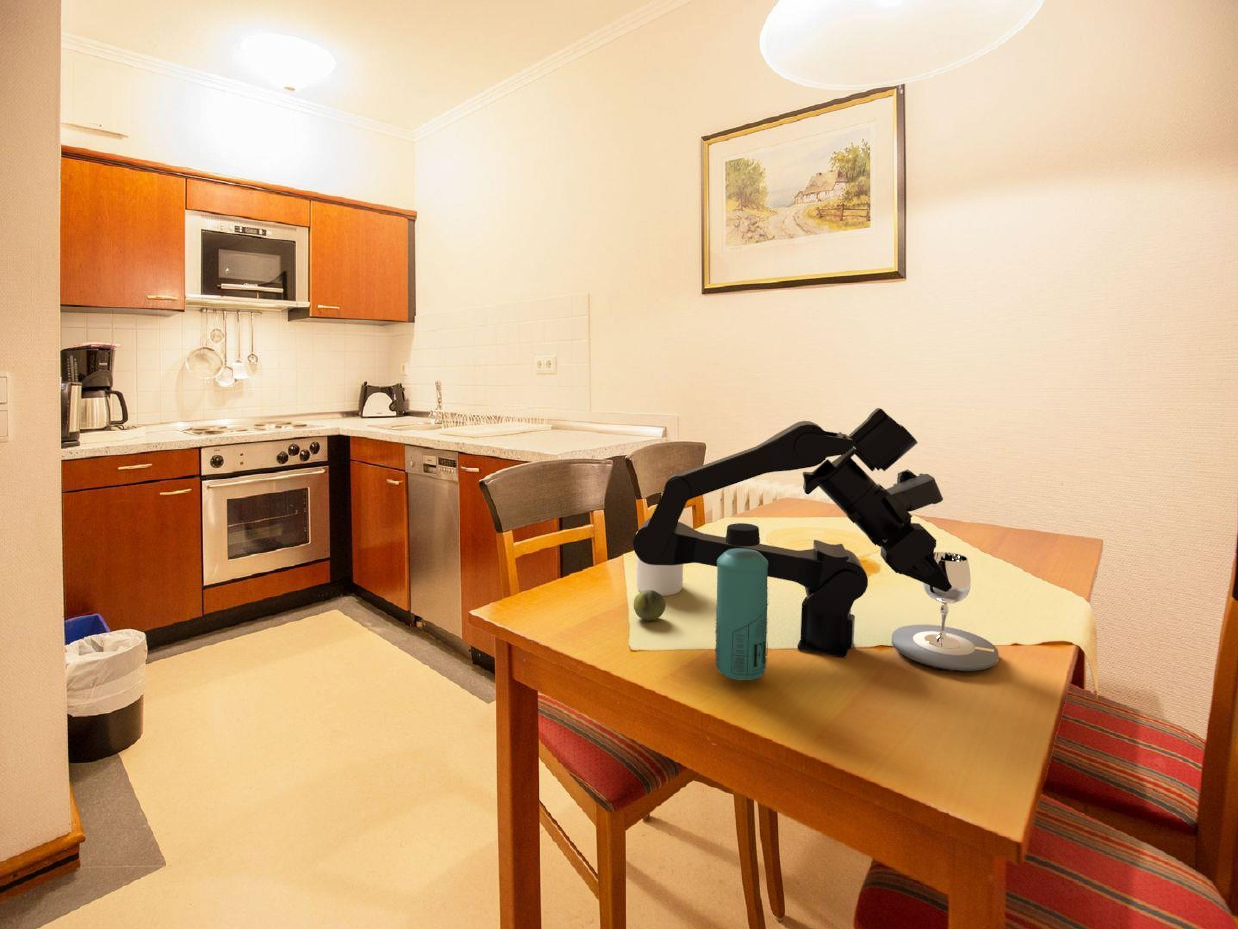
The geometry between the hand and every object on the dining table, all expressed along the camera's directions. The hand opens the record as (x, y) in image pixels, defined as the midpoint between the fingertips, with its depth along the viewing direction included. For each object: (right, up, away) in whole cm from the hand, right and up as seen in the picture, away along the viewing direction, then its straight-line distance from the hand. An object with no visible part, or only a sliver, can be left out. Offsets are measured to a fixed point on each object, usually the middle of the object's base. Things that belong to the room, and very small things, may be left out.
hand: (938, 578), depth 87 cm
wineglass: (+1, -9, +1) cm, 9 cm away
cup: (-36, -7, +30) cm, 47 cm away
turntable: (+1, -11, +1) cm, 11 cm away
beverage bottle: (-28, -12, -5) cm, 31 cm away
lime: (-38, -9, +14) cm, 42 cm away
